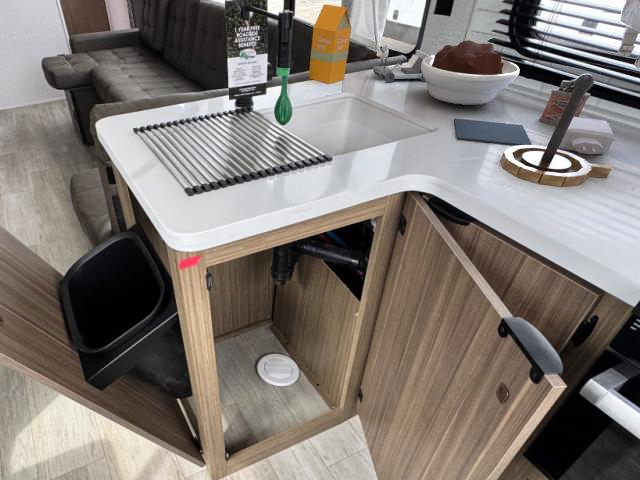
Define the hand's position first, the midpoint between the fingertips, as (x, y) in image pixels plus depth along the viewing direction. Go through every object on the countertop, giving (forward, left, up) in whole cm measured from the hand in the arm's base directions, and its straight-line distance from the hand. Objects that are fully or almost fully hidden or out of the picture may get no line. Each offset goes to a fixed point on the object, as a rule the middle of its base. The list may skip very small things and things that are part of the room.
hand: (631, 61), depth 78 cm
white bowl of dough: (+21, -40, -20) cm, 50 cm away
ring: (+5, +4, -20) cm, 21 cm away
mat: (+15, -15, -20) cm, 29 cm away
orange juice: (+61, -51, -20) cm, 82 cm away
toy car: (+39, -60, -20) cm, 75 cm away
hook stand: (+7, +4, -20) cm, 21 cm away
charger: (-3, -10, -20) cm, 23 cm away
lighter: (-2, -28, -20) cm, 35 cm away
